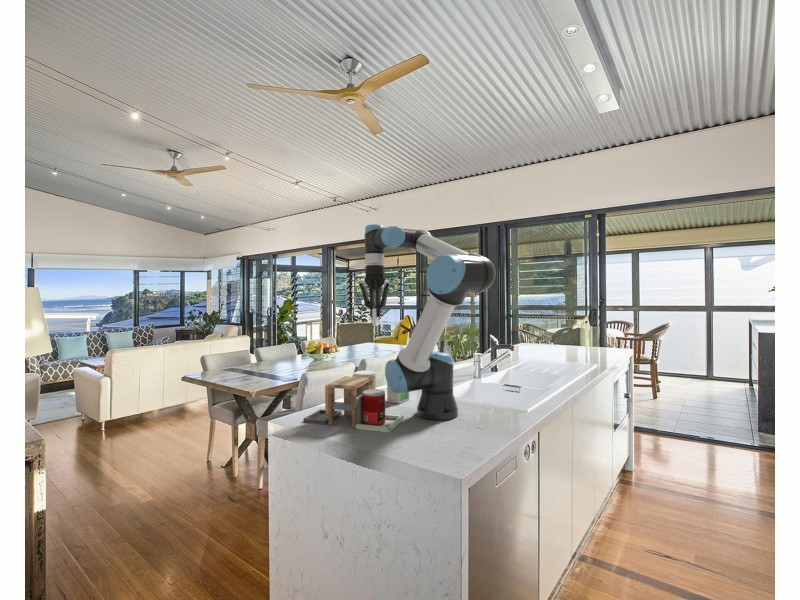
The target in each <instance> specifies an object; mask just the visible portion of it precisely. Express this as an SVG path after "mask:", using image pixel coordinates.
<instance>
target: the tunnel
mask: <svg viewBox="0 0 800 600" xmlns="http://www.w3.org/2000/svg"><path fill="white" fill-rule="evenodd" d="M327 384H328V418H329V423H328V426H331V427H332V426H333V425H334V420H333V388H335V389H342V390H343V403H352V411H351V410H343V415H344V416H349V417H351V428H352V429H356V425H357V403H356V397H358V396H360V395H361V394H362V393H363V391H365V390H369V389H370V378H364V377H354V376H346V375H345V376H343V377H341V378H339V379H336V380H334V381H332V382H329V383H327Z"/></svg>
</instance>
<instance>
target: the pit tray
mask: <svg viewBox="0 0 800 600" xmlns="http://www.w3.org/2000/svg"><path fill="white" fill-rule="evenodd" d="M342 413H343V410H335V413H333V421H334V420H336V419H337V418H339V417H340V416H341V415H343V414H342ZM303 423H307V424H308V423H309V424H319V425H320V424H321V425H329V418H328V414H325V409H318V410H316V411H314V412H313V413H311V414H309V415H308V416H306V417H304V418H303Z"/></svg>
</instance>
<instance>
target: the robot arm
mask: <svg viewBox="0 0 800 600" xmlns="http://www.w3.org/2000/svg"><path fill="white" fill-rule="evenodd" d="M385 249H403V250H404V249H405V250H414V251H416V252H417V253H420V254H422V255H423V256H426V257H427V258H429V259H431V260H432V261H431V262H430V264H429V266H428V268H427V271H426V277H427V278H426V279H425V281H426V284H427V287H428V288H427V290H428V293H429V296H428V297H429V298H427V301H426V303H425V305H424V308H423V310H422V312H421V314H420V316H419V317H418V321H417V323H416V325H415V328H414V329H413V332H412V334H411V335H410V336H411V337H410V338H409V340H408V343H407V345H406V347H404V348H402V349H400V350H399V352H398V354H397V357H396V358H395V359H390V360H388V361H387V362H386V364H385V367H384V375H385V380H386V381H385V382H386V384H387V383H388V385H389V387H390V389H391V390H392V391H393V392H395V393H406V392H409V393H412V392H415V391H421V393H420V398H419V401H418V404H417V407H416V415H417V416H418V417H419V418H422V419H424V420H430V421H447V420H453V419H454V418H457V417H458V416H459V407H458V404H457V402H456V398H455V394H454V364H453V363H454V361H453V355H451V354H450V353H447V352H441V351H434V349H435V347H436V345H437V343H438V341H439V339H440V338H441V335H442V334H443V332H444V329H445V328H446V326H447V324H448V322H449V320H450V318H451V316H452V314H453V312H454V310H455V308H456V307H459V306H461V305H463V302H464V301H465V299H466V297H467V295H469V294H480V293H482V292H486V291H487V290H489V288H491V287H492V285H493V284H494V283H495V279H496V275H497V272H496V271H497V270H496V267H495V265H494V263H493V262H492V261H491V260H490V259H489V258H487V257H486V256H483V255H481V254H479V253H476V252H466V251H464V250H462V249H460V248H458V247H456V246H454V245H452V244H449V243H448V242H445V241H443V240H441V239H438V238H437V237H435V236H433V235H432V234H431V232H429V230H428V231H427V230H423V229H414V228H411V229H410V228H402V227H400V226H398V225H389V226H386V227H384V225H382V224H368V225H366V226H365V228H364V252H365V253H364V264H365V267H364V272H365V273H364V276H365V277H364V280H363V281H362V282H360V283H358V287H360V289H361V293H362V298H363V301H364V305H365V308H368V309H369V316H370V318H372V321H371V323H372V326H373V327H375V326H376V327H377V326H379V325H380V324H379V318H381V311H382V310H381V309H382V308H385V307H386V304H387V299H388V295H389V290H390V287H391V286H392V283H391V282H389V281H387V280H386V279H387V278H386V277H385V269H386V268H385ZM383 286H384V287H383ZM367 287H368V289H367ZM382 288H383V290H382ZM368 292H369V293H368ZM381 292H382V293H381Z"/></svg>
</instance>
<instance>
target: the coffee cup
mask: <svg viewBox="0 0 800 600" xmlns="http://www.w3.org/2000/svg"><path fill="white" fill-rule="evenodd" d="M353 377H364V378H370V389H377V388H376V387H377V373H376V371H374V370H368V369H367V370H366V369H365V370H358V371H355V372H354V373H353Z"/></svg>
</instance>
